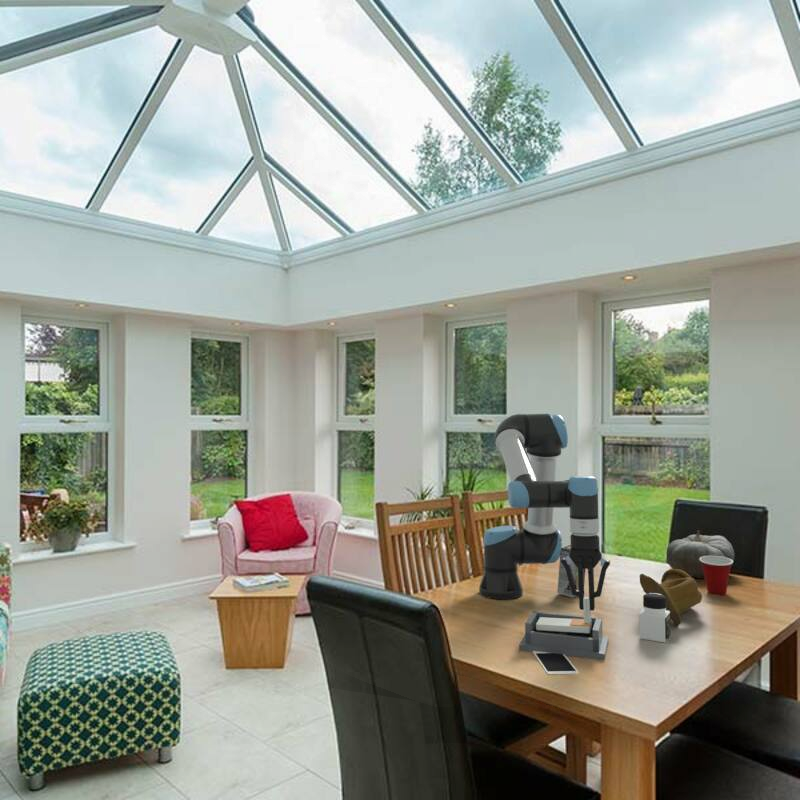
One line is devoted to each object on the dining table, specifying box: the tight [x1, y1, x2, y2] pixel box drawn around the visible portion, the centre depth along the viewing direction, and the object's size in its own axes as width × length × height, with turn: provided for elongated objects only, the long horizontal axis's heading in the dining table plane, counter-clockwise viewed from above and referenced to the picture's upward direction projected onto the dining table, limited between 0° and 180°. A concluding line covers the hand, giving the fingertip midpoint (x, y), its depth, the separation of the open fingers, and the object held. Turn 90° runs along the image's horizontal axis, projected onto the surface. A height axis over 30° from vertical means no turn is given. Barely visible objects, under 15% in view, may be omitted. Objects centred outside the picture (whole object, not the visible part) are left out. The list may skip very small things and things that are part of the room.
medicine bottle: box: [638, 593, 672, 644], centre depth 188 cm, size 7×7×12 cm
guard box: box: [518, 610, 609, 661], centre depth 182 cm, size 22×14×7 cm, turn 69°
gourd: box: [666, 530, 735, 579], centre depth 262 cm, size 25×25×17 cm
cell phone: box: [532, 651, 580, 676], centre depth 170 cm, size 8×16×1 cm, turn 2°
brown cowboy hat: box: [639, 568, 703, 627], centre depth 208 cm, size 23×16×28 cm
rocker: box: [536, 617, 592, 633], centre depth 182 cm, size 14×7×2 cm, turn 69°
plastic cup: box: [699, 556, 734, 596], centre depth 234 cm, size 11×11×12 cm
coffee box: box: [556, 544, 587, 598], centre depth 234 cm, size 9×6×16 cm
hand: (587, 622), depth 179 cm, fingers closed
